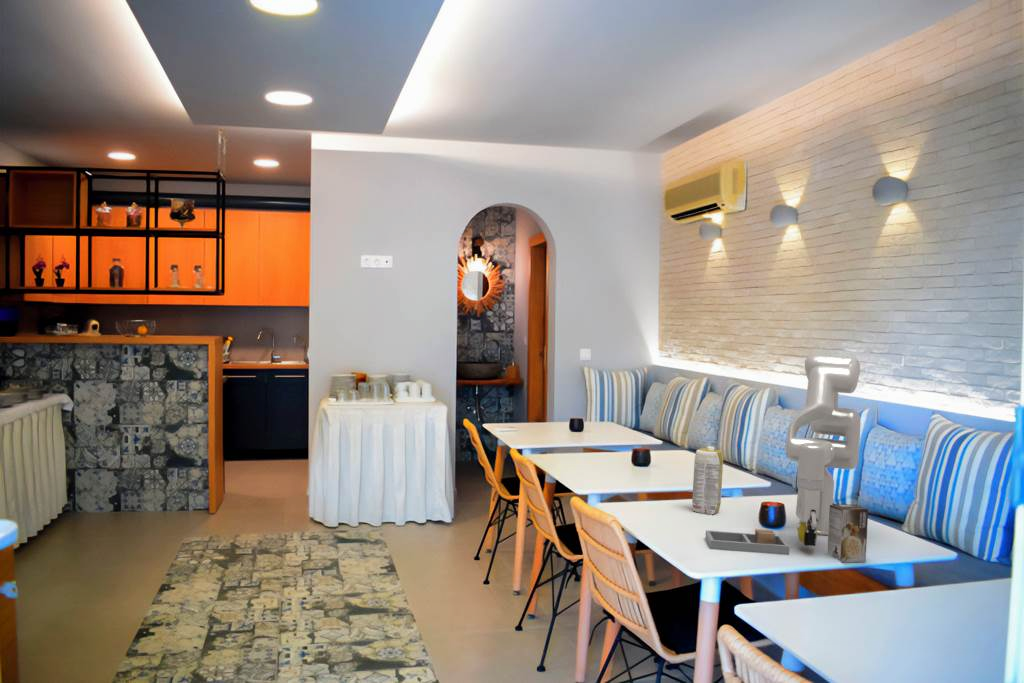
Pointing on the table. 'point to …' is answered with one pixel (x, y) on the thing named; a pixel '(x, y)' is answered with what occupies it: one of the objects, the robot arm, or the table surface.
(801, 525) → the lemon
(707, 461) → the juice carton
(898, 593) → the table surface
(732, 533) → the slot tray
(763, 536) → the walnut block
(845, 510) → the coffee box
